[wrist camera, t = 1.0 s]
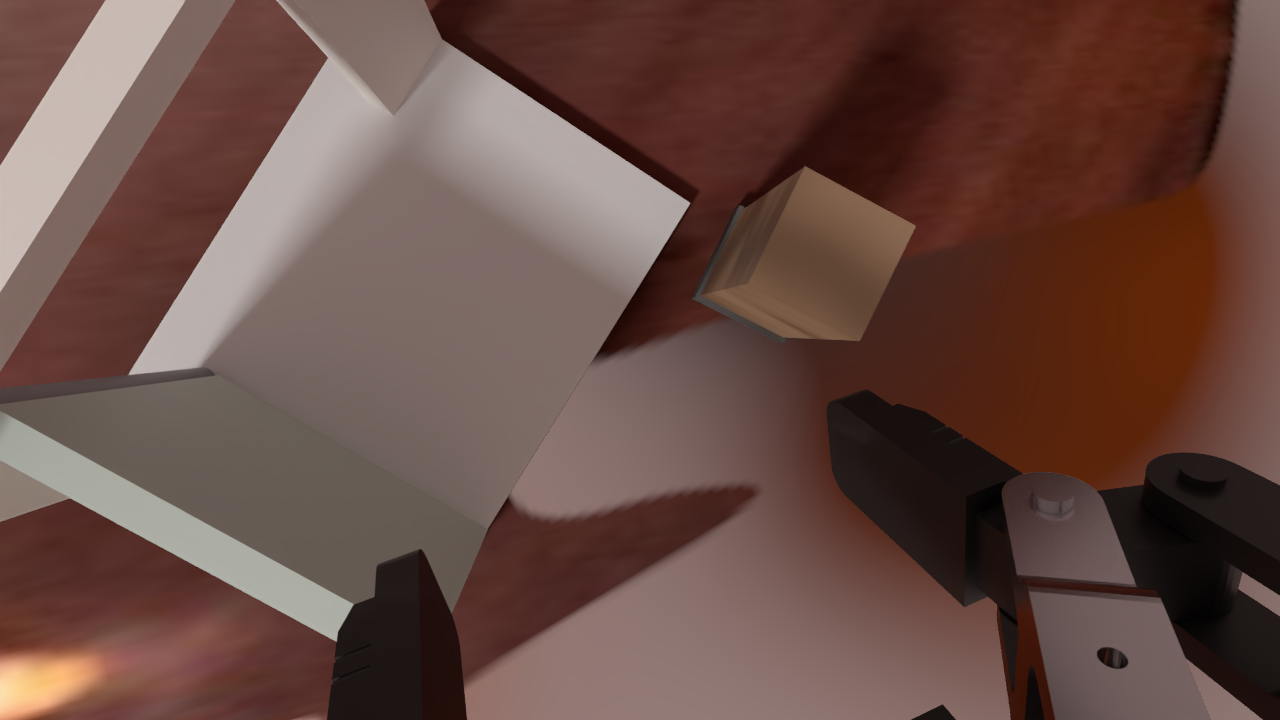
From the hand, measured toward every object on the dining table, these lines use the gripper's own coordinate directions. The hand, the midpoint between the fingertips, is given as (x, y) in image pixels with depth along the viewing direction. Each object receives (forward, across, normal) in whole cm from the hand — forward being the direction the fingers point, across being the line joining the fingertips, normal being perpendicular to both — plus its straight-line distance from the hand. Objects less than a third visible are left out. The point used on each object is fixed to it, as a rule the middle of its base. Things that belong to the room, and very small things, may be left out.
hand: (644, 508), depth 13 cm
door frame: (+23, +5, +2) cm, 23 cm away
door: (+20, +10, +7) cm, 24 cm away
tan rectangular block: (+20, -12, +4) cm, 23 cm away
